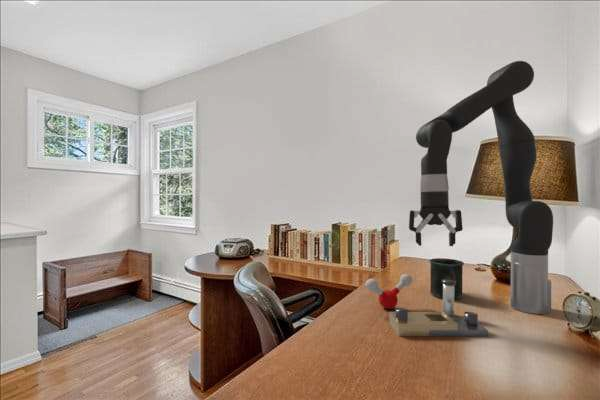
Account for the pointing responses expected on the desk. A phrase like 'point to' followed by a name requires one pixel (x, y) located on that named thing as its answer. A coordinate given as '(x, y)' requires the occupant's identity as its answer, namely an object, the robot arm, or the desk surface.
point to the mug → (445, 276)
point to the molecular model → (388, 291)
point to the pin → (448, 296)
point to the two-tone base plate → (434, 324)
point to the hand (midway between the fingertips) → (435, 245)
